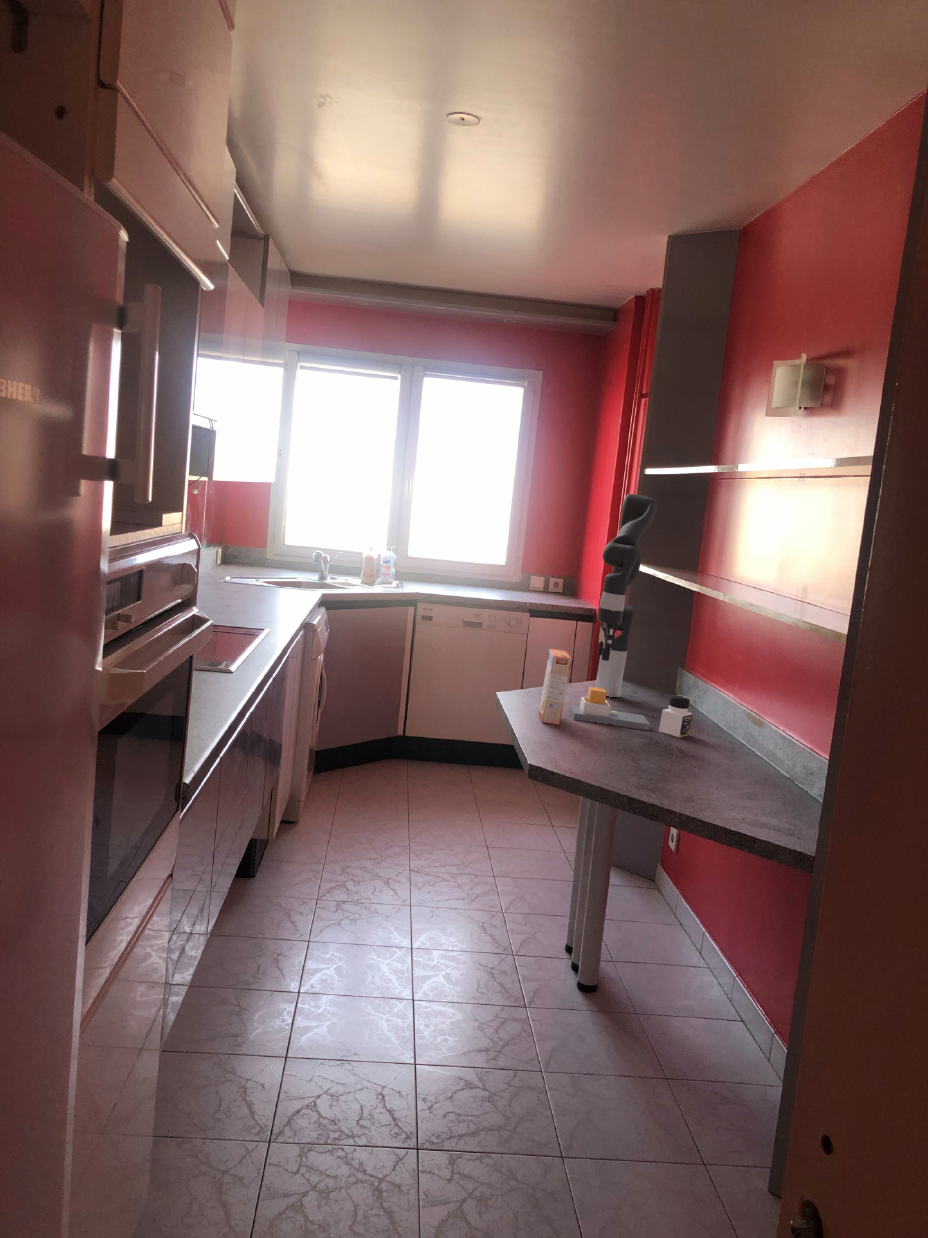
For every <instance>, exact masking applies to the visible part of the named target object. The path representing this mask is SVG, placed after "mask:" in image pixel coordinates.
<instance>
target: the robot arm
mask: <svg viewBox="0 0 928 1238" xmlns="http://www.w3.org/2000/svg"><path fill="white" fill-rule="evenodd" d="M656 500H657V499H655V498H654V497H650V496H644V495H640V494H635V493H627V494H626V496H625V497H624V499H623V502H622V507H621V512H620V513H621V516H620V523H619V524H620V525H619V531H618V533H617V535H616V537H614V538H613V539H612V540H610V541H609V542H608V543H607V544H606V546H605V547H604V549H603V552H602V560H603V562H604V563H605V564H606V565H608V566H612V569H611V573H608V574H606V575H605V578H604V581H603V582H604V583H603V589H602V594H601V597H600V601H599V605H598V606H599V607H598V612H597V620H598V621H599V622H600V628H599V633H598V638H597V639H598V648H597V649H598V650H597V655H598V656H599V661H598V662H599V663H598V667H597V673H596V680H595V685H594V688H601V689H605V691H606V692H607V694H606V696H609V697H608V698H610V697H619V698H620V695H621V689H622V685H623V684H622V683H623V678H624V673H625V667H626V660H627V656H628V650H629V649H628V648H629V644H630V637H631V632H632V628H633V624H634V620H635V609H634V608H633V607H632V606H627V605H625V603H626V593H627V589H628V588H629V587H630V586H631V585H632V584H633V583H634V582H635V580H637V578H638V576H639V573H640V567H641V564H642V563H641V562H642V555H641V552H640V550H639V547H638V544H639V542H640V539H641V537H642V536H643V534H644V533H645V532H646V531H647V529H648V528H649V527H650V526H651V524H652V522H653V521H654V518H655V516H656V512H657V508H658V507H657V505H658V504H657V501H656ZM617 631H619V632H621V633H620V634H618V635H616V632H617Z"/></svg>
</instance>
